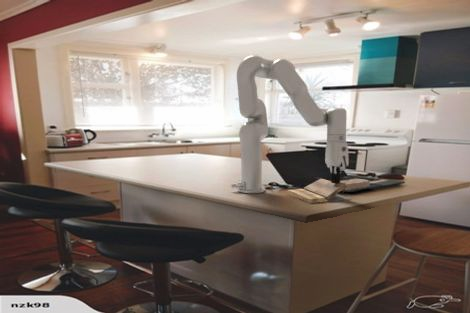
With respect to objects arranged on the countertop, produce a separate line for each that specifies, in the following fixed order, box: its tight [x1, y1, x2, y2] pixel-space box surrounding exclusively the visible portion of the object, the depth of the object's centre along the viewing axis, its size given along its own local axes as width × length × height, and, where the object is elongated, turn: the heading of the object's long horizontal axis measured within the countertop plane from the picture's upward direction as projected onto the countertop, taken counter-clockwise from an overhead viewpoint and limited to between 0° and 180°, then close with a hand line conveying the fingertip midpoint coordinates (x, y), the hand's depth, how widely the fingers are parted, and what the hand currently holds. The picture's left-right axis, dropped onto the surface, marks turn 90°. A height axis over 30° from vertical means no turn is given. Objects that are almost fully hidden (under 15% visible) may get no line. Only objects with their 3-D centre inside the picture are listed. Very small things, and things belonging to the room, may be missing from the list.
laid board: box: [286, 188, 328, 204], centre depth 147 cm, size 8×18×2 cm, turn 20°
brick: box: [340, 178, 371, 190], centre depth 162 cm, size 17×8×5 cm, turn 123°
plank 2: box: [315, 180, 347, 200], centre depth 145 cm, size 10×9×2 cm
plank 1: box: [302, 178, 331, 194], centre depth 154 cm, size 10×9×2 cm
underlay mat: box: [309, 193, 351, 204], centre depth 149 cm, size 20×18×1 cm
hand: (335, 182), depth 146 cm, fingers closed
